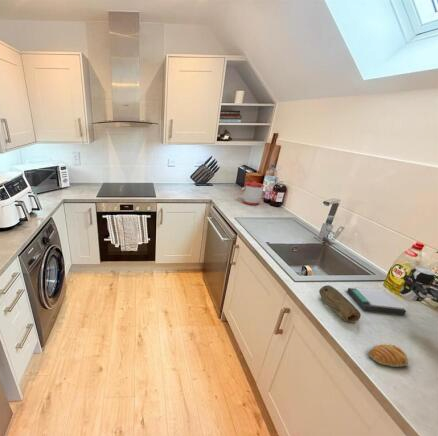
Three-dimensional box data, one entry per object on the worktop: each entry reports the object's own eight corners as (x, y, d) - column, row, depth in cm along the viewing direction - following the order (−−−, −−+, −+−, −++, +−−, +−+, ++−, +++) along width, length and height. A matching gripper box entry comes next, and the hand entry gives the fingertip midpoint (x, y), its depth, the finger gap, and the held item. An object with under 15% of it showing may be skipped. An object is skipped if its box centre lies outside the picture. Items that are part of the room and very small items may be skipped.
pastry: (382, 370, 71) (387, 362, 70) (361, 350, 77) (365, 342, 76) (409, 366, 72) (414, 358, 71) (385, 347, 79) (390, 339, 77)
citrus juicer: (238, 199, 217) (242, 178, 209) (258, 201, 213) (263, 179, 205) (240, 205, 203) (244, 182, 195) (261, 207, 199) (266, 184, 191)
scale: (382, 295, 101) (385, 290, 100) (403, 315, 91) (407, 309, 90) (346, 291, 103) (349, 286, 102) (363, 310, 93) (366, 304, 92)
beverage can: (412, 304, 82) (429, 276, 77) (394, 293, 87) (408, 266, 82) (425, 302, 83) (442, 274, 78) (406, 291, 88) (421, 264, 83)
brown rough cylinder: (313, 296, 100) (318, 284, 98) (328, 295, 101) (333, 283, 98) (343, 325, 87) (349, 311, 84) (360, 323, 87) (367, 310, 85)
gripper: (502, 302, 68) (432, 267, 84) (457, 304, 67) (395, 268, 83) (487, 321, 71) (422, 284, 87) (444, 323, 70) (386, 285, 86)
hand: (409, 276), depth 85 cm, fingers closed on beverage can, 3 cm apart
